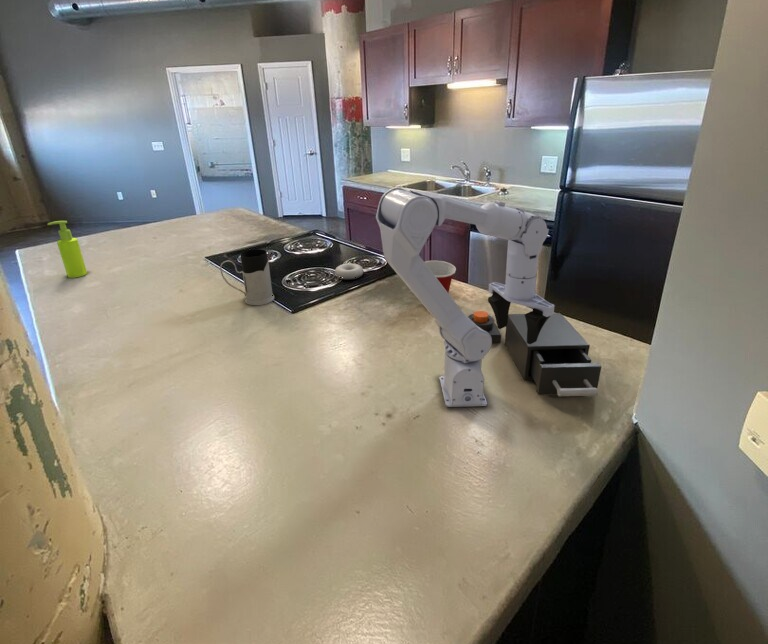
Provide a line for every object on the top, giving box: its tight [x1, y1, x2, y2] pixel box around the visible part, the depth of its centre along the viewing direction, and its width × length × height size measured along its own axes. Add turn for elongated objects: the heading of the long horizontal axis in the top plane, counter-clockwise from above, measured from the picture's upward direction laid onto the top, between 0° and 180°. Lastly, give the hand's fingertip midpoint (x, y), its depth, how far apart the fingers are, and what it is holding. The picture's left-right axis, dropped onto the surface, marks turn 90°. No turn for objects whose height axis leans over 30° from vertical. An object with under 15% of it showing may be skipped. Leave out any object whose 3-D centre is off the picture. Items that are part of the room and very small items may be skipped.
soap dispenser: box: [47, 220, 88, 279], centre depth 147 cm, size 6×7×20 cm
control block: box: [467, 313, 502, 344], centre depth 105 cm, size 10×8×4 cm
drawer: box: [529, 349, 602, 397], centre depth 84 cm, size 18×11×6 cm, turn 1°
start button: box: [473, 310, 489, 323], centre depth 105 cm, size 4×4×2 cm
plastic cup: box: [424, 260, 457, 294], centre depth 120 cm, size 11×11×12 cm
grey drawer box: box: [504, 312, 591, 381], centre depth 93 cm, size 15×13×8 cm
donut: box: [334, 262, 364, 281], centre depth 145 cm, size 10×4×10 cm
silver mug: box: [219, 248, 276, 306], centre depth 125 cm, size 9×14×15 cm, turn 112°
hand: (516, 334), depth 86 cm, fingers open, 7 cm apart
